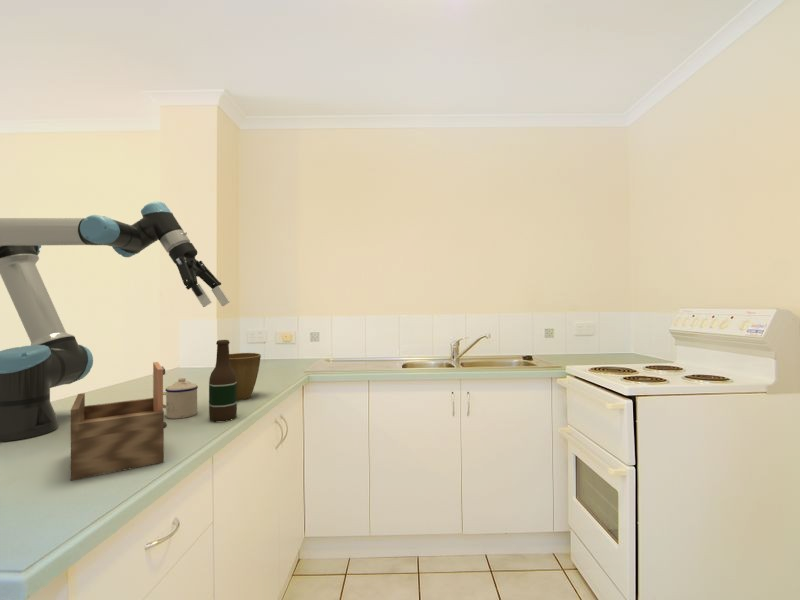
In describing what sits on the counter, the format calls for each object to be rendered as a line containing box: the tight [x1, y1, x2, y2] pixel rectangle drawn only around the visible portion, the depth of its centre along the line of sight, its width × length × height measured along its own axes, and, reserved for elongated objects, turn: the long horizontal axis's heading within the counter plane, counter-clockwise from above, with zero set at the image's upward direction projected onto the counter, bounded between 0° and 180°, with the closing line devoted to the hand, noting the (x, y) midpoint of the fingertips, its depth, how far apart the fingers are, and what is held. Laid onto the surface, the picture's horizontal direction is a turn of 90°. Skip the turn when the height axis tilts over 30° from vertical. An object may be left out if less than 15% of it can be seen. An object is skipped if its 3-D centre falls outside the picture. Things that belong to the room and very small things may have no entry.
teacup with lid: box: [163, 377, 199, 419], centre depth 128 cm, size 12×9×12 cm
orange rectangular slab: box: [152, 361, 166, 412], centre depth 97 cm, size 2×15×12 cm, turn 35°
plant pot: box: [229, 352, 262, 401], centre depth 151 cm, size 15×15×16 cm
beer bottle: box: [208, 339, 238, 423], centre depth 123 cm, size 8×8×24 cm
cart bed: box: [70, 392, 168, 481], centre depth 92 cm, size 17×18×14 cm
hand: (217, 304), depth 127 cm, fingers open, 13 cm apart
